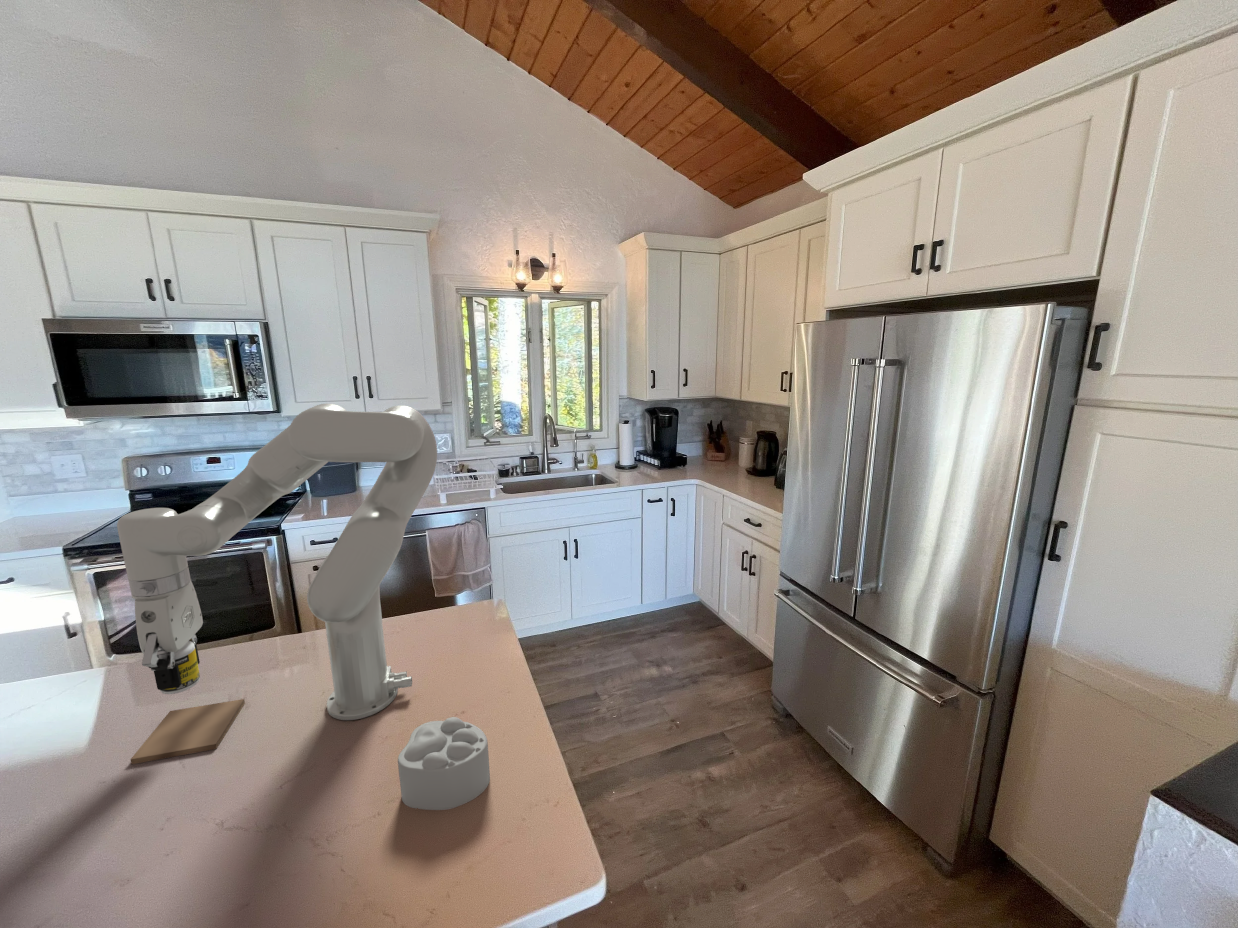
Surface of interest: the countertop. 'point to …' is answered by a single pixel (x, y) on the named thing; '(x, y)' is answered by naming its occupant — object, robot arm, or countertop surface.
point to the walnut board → (189, 731)
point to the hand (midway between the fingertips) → (179, 675)
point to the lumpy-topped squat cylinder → (444, 765)
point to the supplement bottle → (184, 668)
